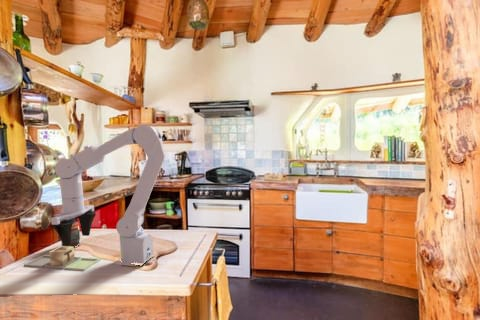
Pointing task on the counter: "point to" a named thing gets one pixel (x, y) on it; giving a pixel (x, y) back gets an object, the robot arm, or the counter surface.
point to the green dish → (82, 264)
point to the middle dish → (60, 266)
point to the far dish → (39, 261)
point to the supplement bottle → (74, 233)
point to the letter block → (62, 256)
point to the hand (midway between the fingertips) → (76, 239)
